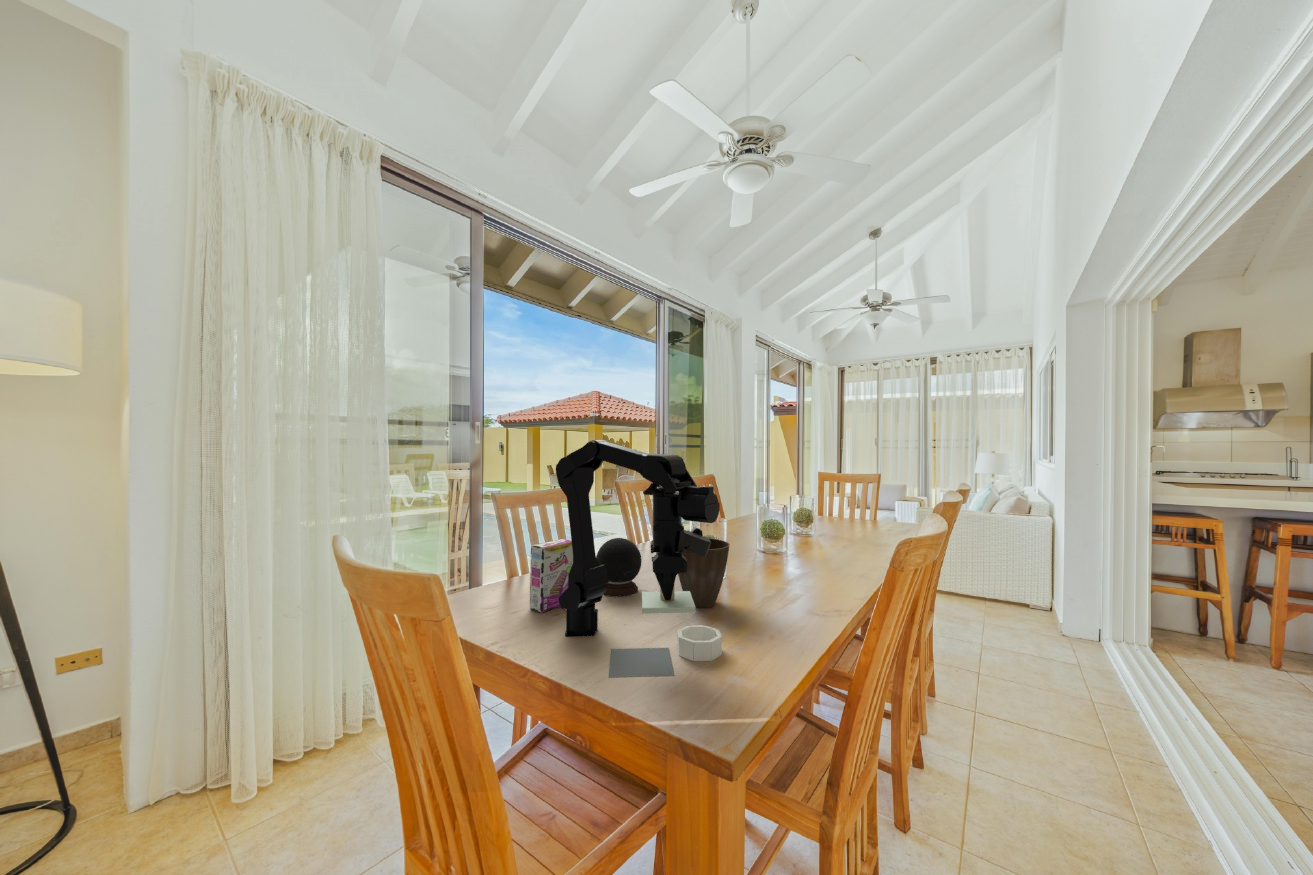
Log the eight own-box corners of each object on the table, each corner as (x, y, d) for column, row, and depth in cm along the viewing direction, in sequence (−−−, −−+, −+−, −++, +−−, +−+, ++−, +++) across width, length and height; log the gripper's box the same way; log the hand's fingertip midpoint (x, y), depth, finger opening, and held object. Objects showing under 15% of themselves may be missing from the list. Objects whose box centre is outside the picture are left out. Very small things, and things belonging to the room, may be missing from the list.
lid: (642, 613, 92) (642, 589, 92) (641, 596, 102) (641, 574, 102) (695, 612, 92) (695, 588, 92) (689, 595, 102) (689, 574, 102)
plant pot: (675, 593, 138) (676, 536, 139) (729, 595, 136) (729, 538, 136) (669, 611, 124) (670, 548, 124) (729, 614, 122) (729, 550, 122)
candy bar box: (542, 613, 122) (542, 547, 122) (529, 609, 125) (529, 545, 125) (574, 601, 131) (575, 540, 131) (561, 598, 134) (562, 538, 134)
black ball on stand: (629, 581, 150) (629, 532, 150) (649, 593, 138) (649, 540, 138) (588, 587, 143) (589, 536, 143) (605, 600, 132) (606, 544, 132)
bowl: (680, 663, 95) (680, 642, 95) (675, 644, 104) (676, 625, 104) (724, 662, 96) (724, 641, 96) (716, 643, 104) (716, 624, 104)
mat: (608, 679, 89) (608, 677, 89) (610, 650, 101) (610, 648, 101) (674, 677, 89) (674, 675, 89) (668, 649, 101) (668, 647, 101)
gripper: (715, 526, 88) (715, 613, 88) (701, 511, 107) (701, 583, 106) (653, 526, 88) (653, 614, 87) (650, 511, 106) (650, 584, 106)
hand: (667, 597), depth 97 cm, fingers closed on lid, 3 cm apart
